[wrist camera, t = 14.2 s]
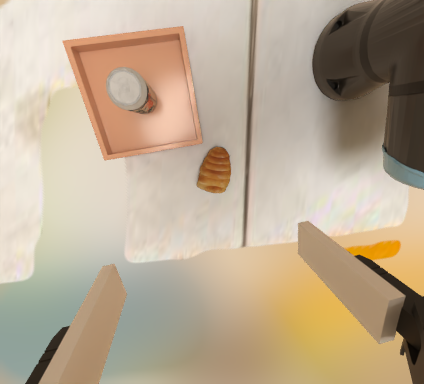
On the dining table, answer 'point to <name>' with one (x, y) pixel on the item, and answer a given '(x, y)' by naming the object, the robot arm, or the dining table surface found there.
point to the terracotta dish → (154, 76)
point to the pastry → (215, 171)
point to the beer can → (130, 91)
